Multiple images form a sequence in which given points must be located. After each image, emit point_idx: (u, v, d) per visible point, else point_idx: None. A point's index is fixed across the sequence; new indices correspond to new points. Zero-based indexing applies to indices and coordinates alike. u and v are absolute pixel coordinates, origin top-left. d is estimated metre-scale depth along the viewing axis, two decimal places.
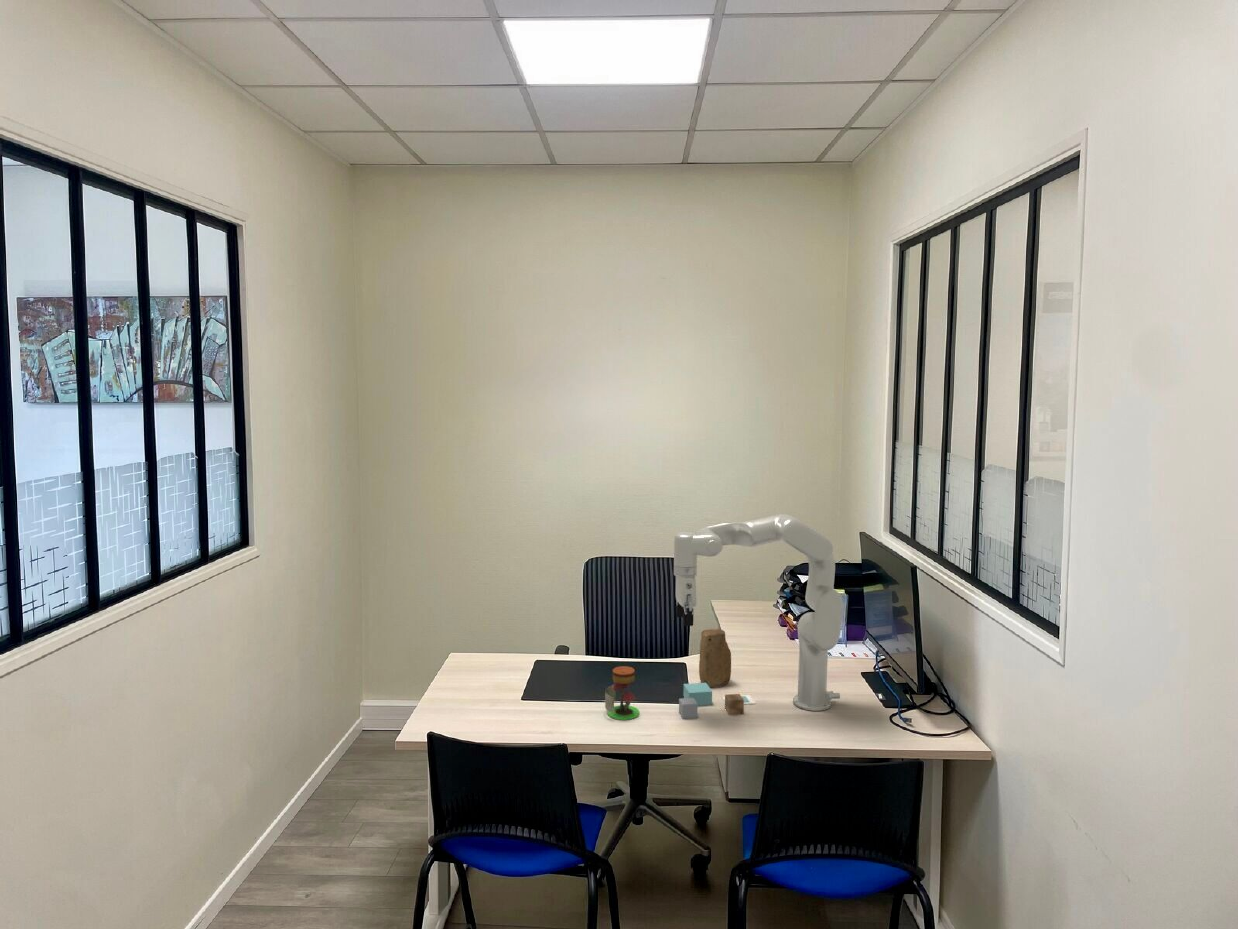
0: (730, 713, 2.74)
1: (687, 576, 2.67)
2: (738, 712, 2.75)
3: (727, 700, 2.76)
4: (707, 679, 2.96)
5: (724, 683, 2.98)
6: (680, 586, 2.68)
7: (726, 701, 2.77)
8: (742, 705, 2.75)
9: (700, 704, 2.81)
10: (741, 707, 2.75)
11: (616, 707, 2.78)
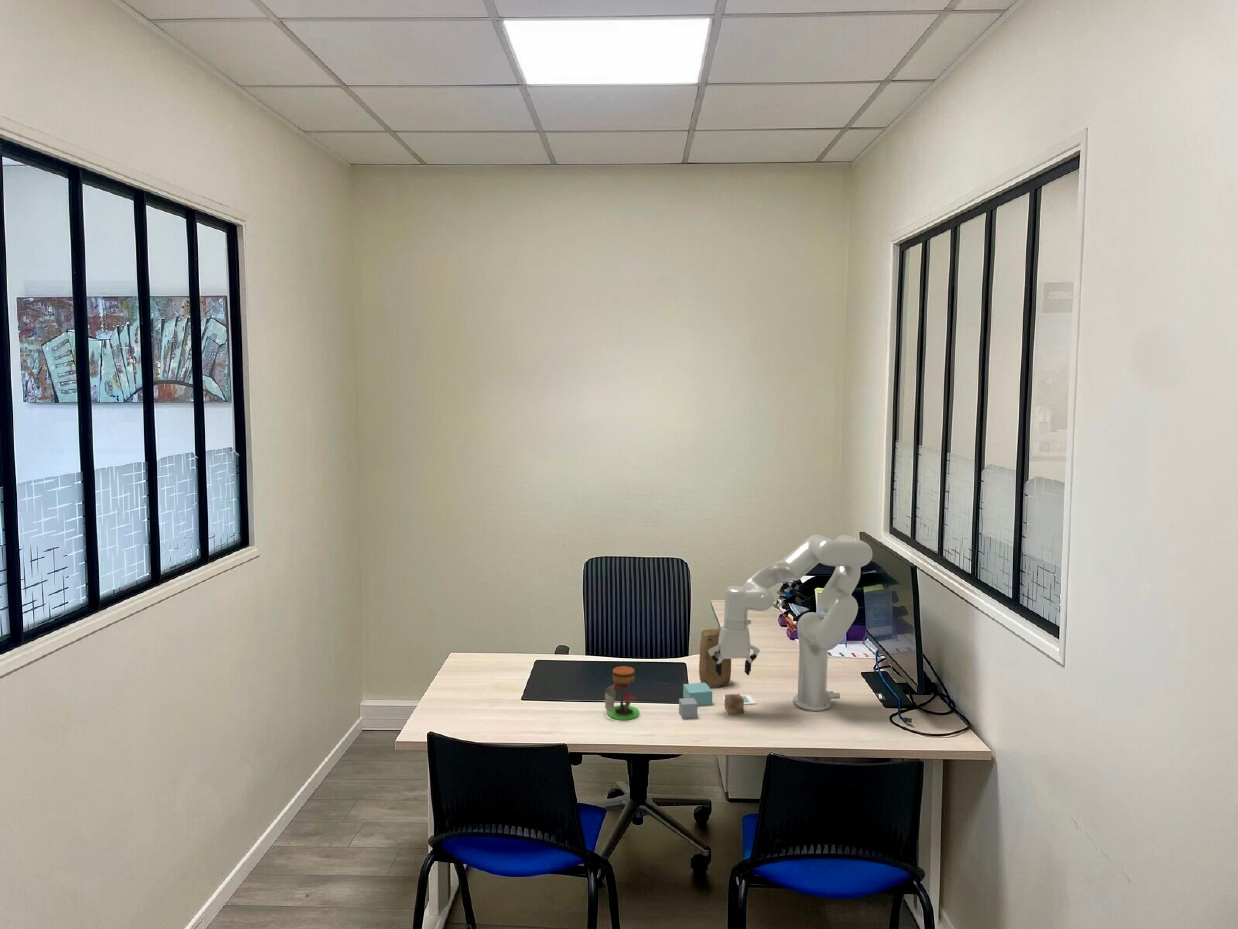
0: (730, 713, 2.74)
1: None
2: (738, 712, 2.75)
3: (727, 700, 2.76)
4: (707, 679, 2.96)
5: (724, 683, 2.98)
6: (745, 639, 2.72)
7: (726, 701, 2.77)
8: (742, 705, 2.75)
9: (700, 704, 2.81)
10: (741, 707, 2.75)
11: (616, 707, 2.78)
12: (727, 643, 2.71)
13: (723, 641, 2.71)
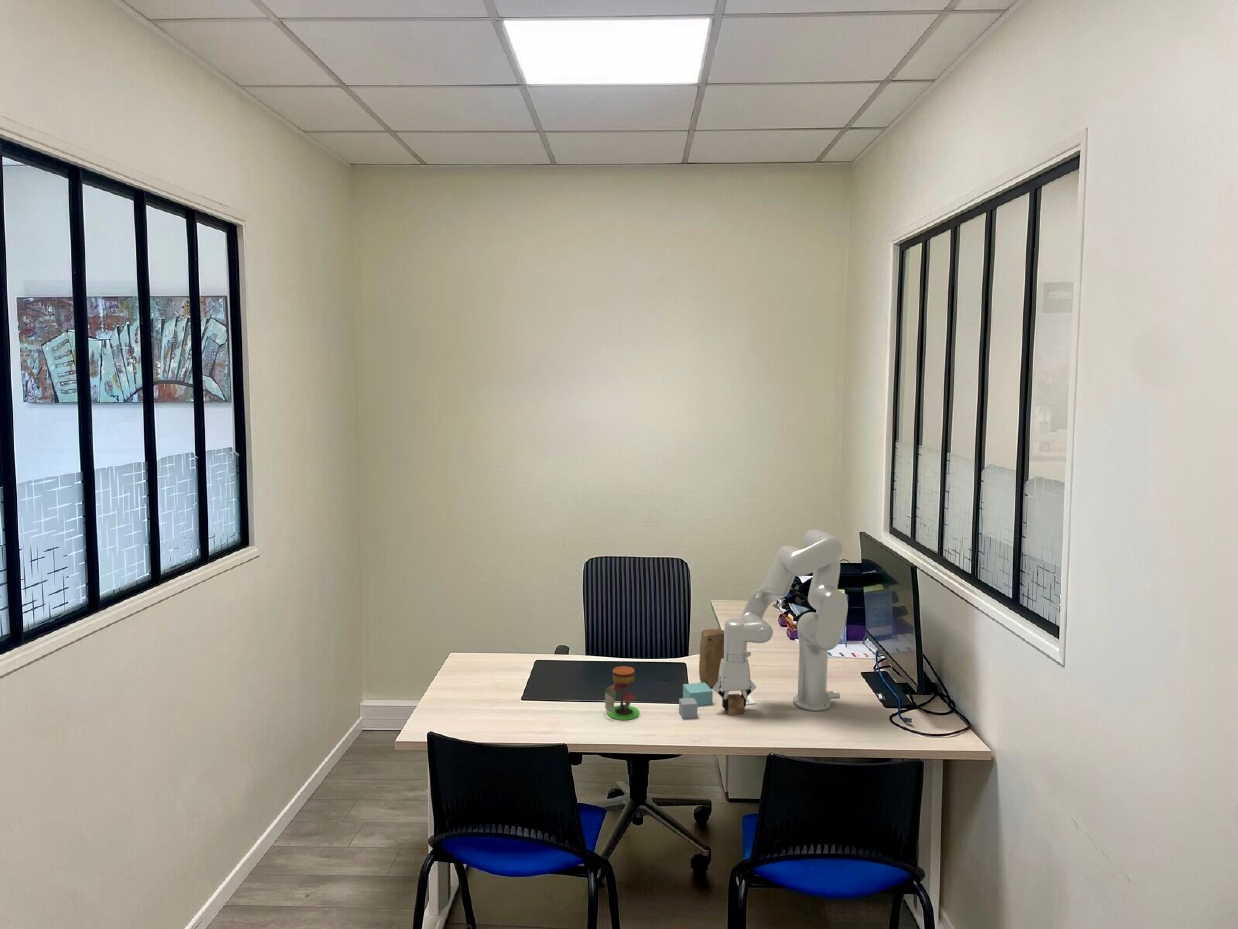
0: (730, 713, 2.74)
1: None
2: (738, 712, 2.75)
3: None
4: (707, 679, 2.96)
5: None
6: (745, 671, 2.73)
7: None
8: (742, 705, 2.75)
9: (701, 704, 2.81)
10: (740, 707, 2.75)
11: (616, 707, 2.78)
12: (727, 676, 2.73)
13: (723, 674, 2.73)
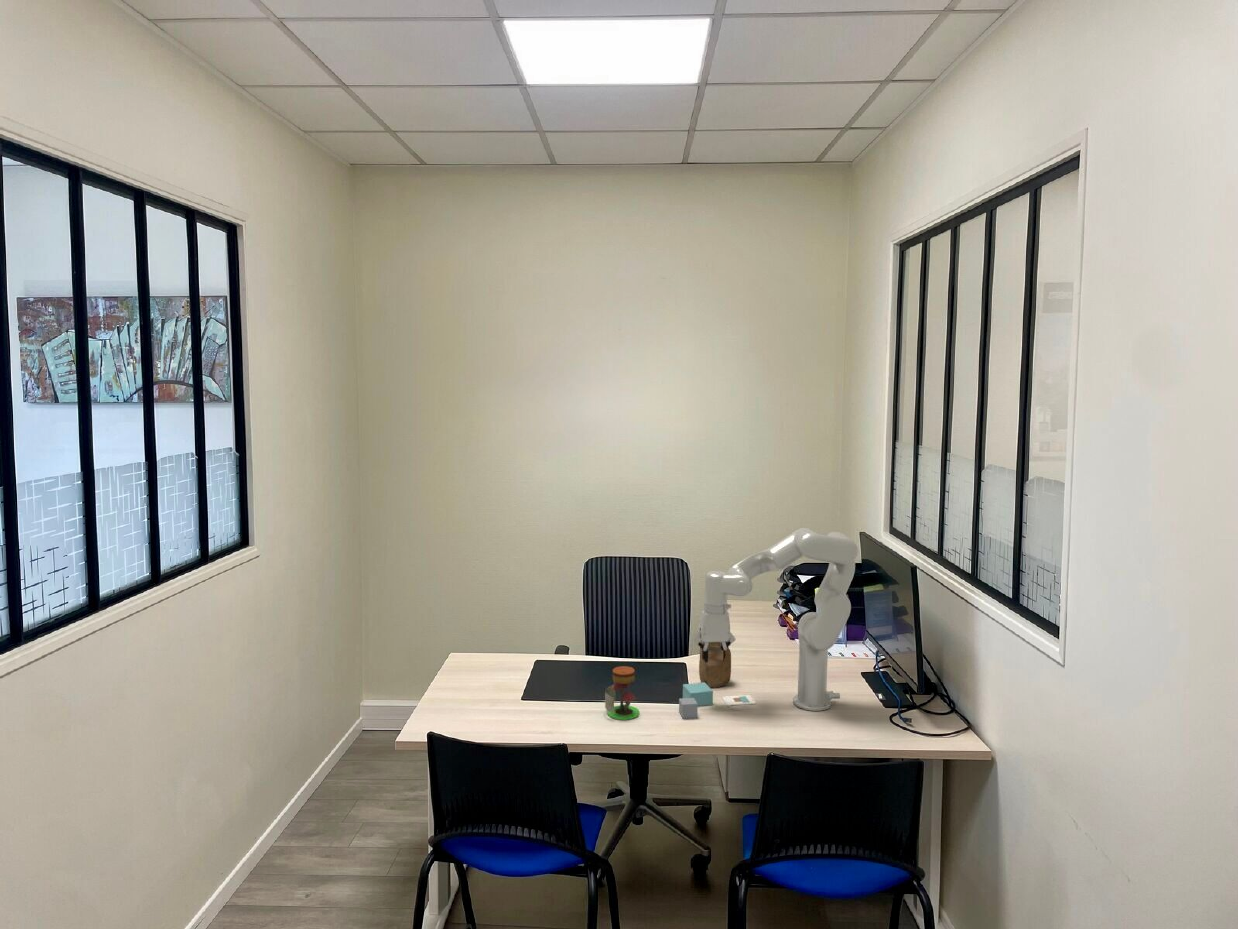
0: (710, 664, 2.77)
1: None
2: (717, 663, 2.77)
3: None
4: (707, 679, 2.96)
5: (724, 683, 2.98)
6: (725, 623, 2.76)
7: None
8: (721, 656, 2.77)
9: (701, 704, 2.81)
10: (720, 658, 2.77)
11: (616, 707, 2.78)
12: (707, 627, 2.75)
13: (703, 625, 2.75)
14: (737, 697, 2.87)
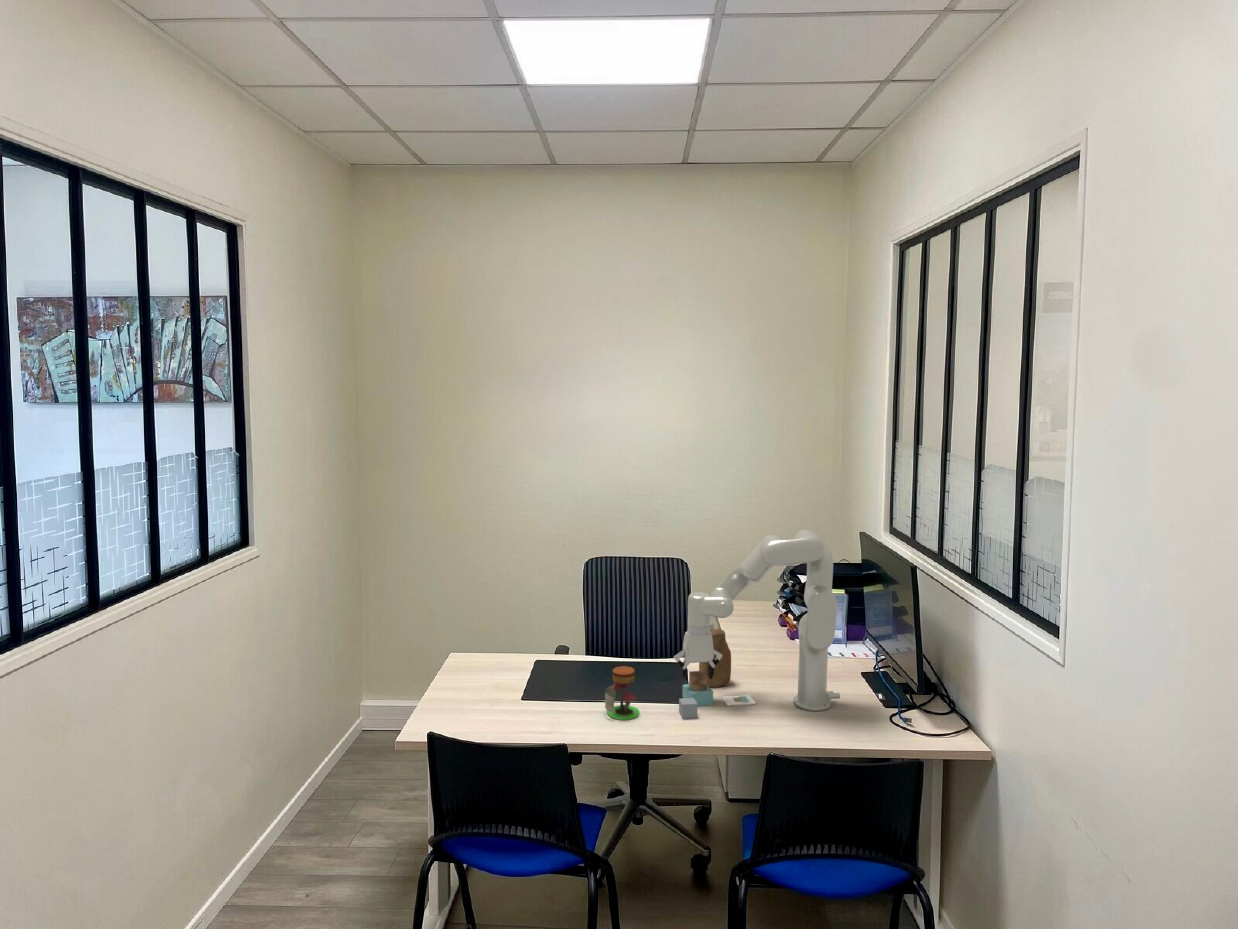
0: (694, 689, 2.82)
1: None
2: (701, 688, 2.82)
3: (691, 676, 2.83)
4: (707, 679, 2.96)
5: (724, 683, 2.98)
6: (708, 643, 2.81)
7: (690, 678, 2.85)
8: (705, 681, 2.82)
9: (702, 704, 2.81)
10: (704, 683, 2.82)
11: (616, 707, 2.78)
12: (691, 648, 2.80)
13: (687, 646, 2.80)
14: (737, 697, 2.87)
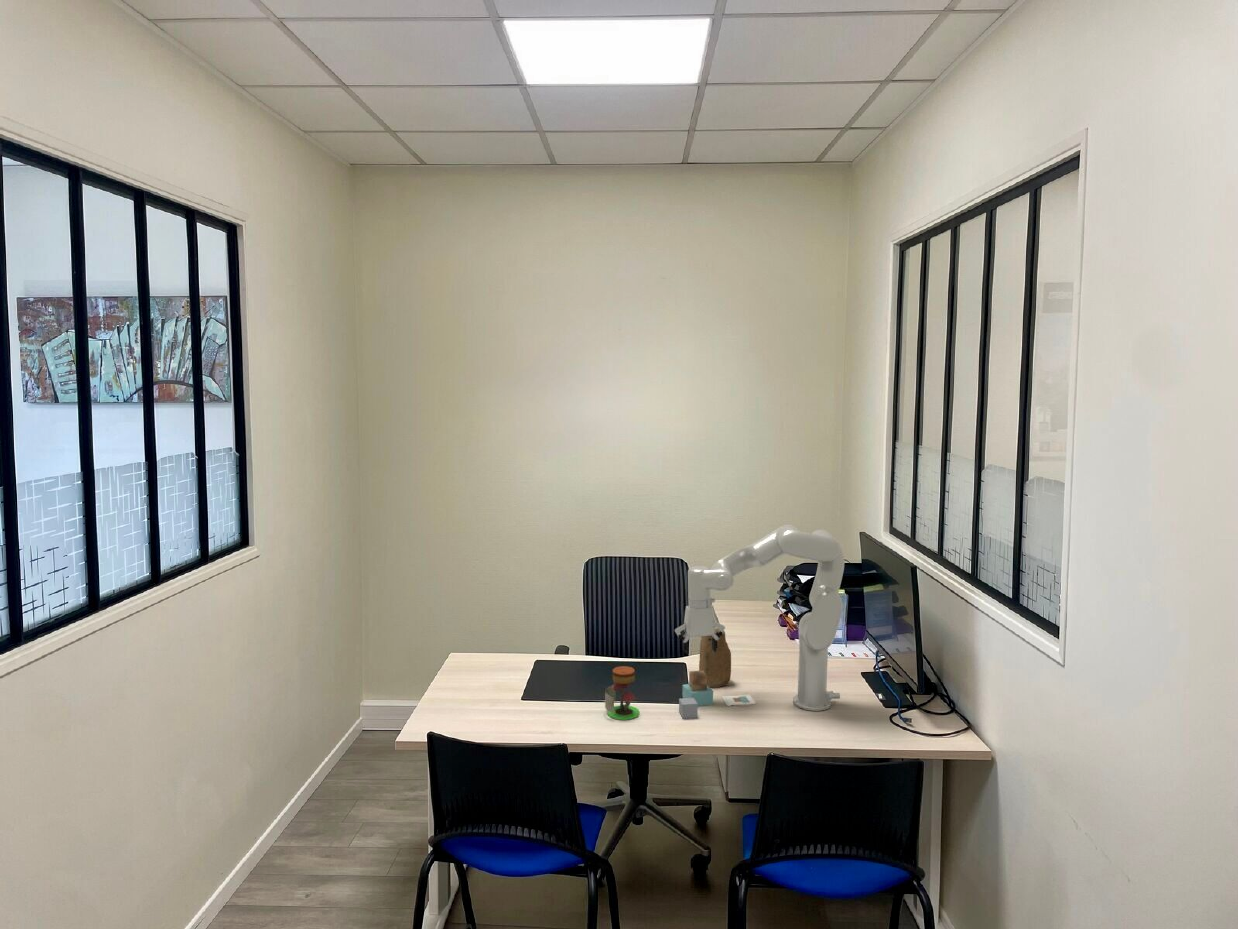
0: (694, 689, 2.82)
1: None
2: (702, 688, 2.82)
3: (691, 676, 2.83)
4: (707, 679, 2.96)
5: (724, 683, 2.98)
6: (709, 617, 2.80)
7: (690, 678, 2.85)
8: (705, 681, 2.82)
9: (702, 704, 2.81)
10: (704, 683, 2.82)
11: (616, 707, 2.78)
12: (692, 622, 2.79)
13: (688, 620, 2.79)
14: (737, 697, 2.87)
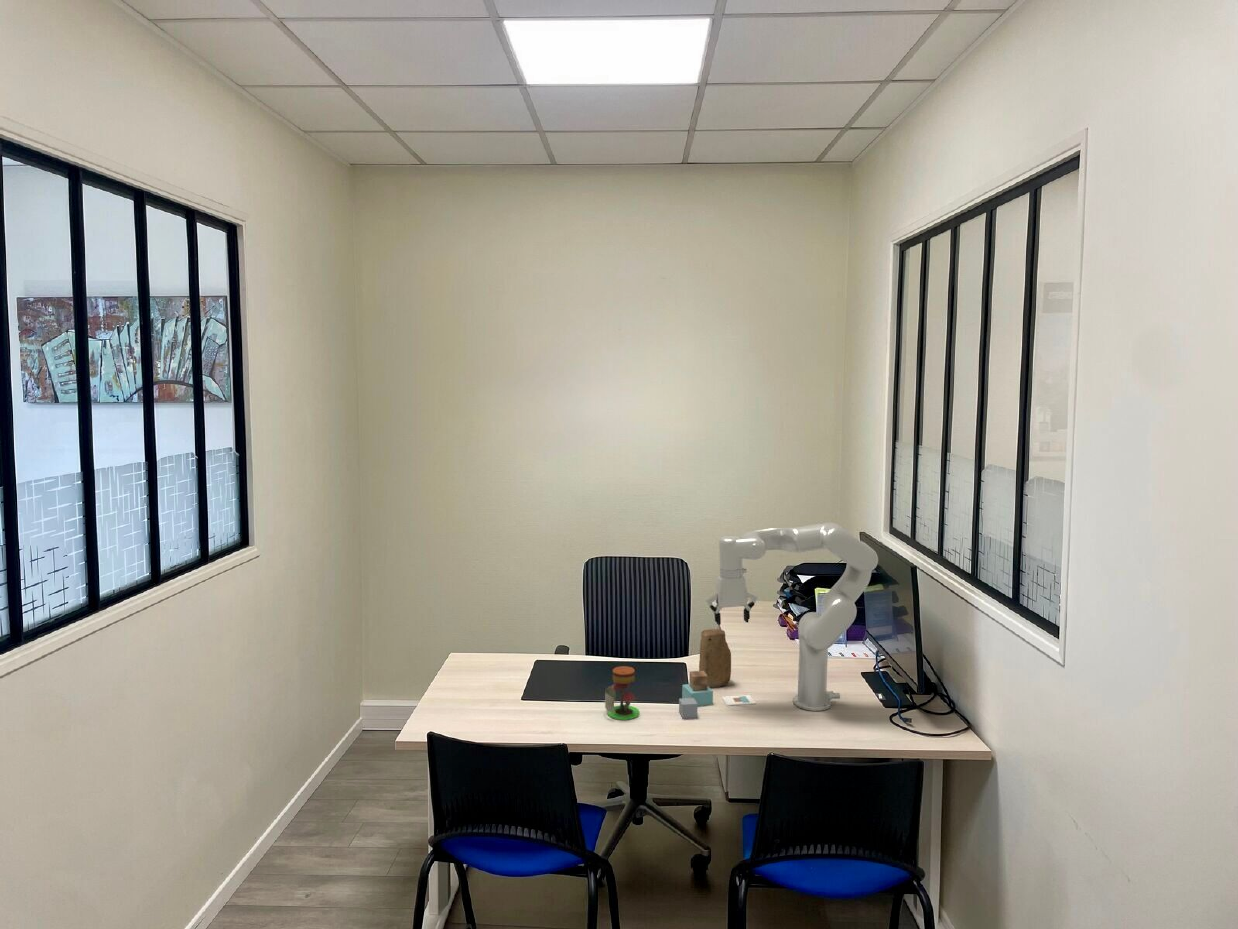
0: (694, 689, 2.82)
1: None
2: (702, 688, 2.82)
3: (691, 676, 2.83)
4: (707, 679, 2.96)
5: (724, 683, 2.98)
6: (741, 587, 2.77)
7: (690, 678, 2.85)
8: (706, 681, 2.82)
9: (701, 704, 2.81)
10: (704, 683, 2.82)
11: (616, 707, 2.78)
12: (724, 592, 2.76)
13: (720, 590, 2.76)
14: (737, 697, 2.87)
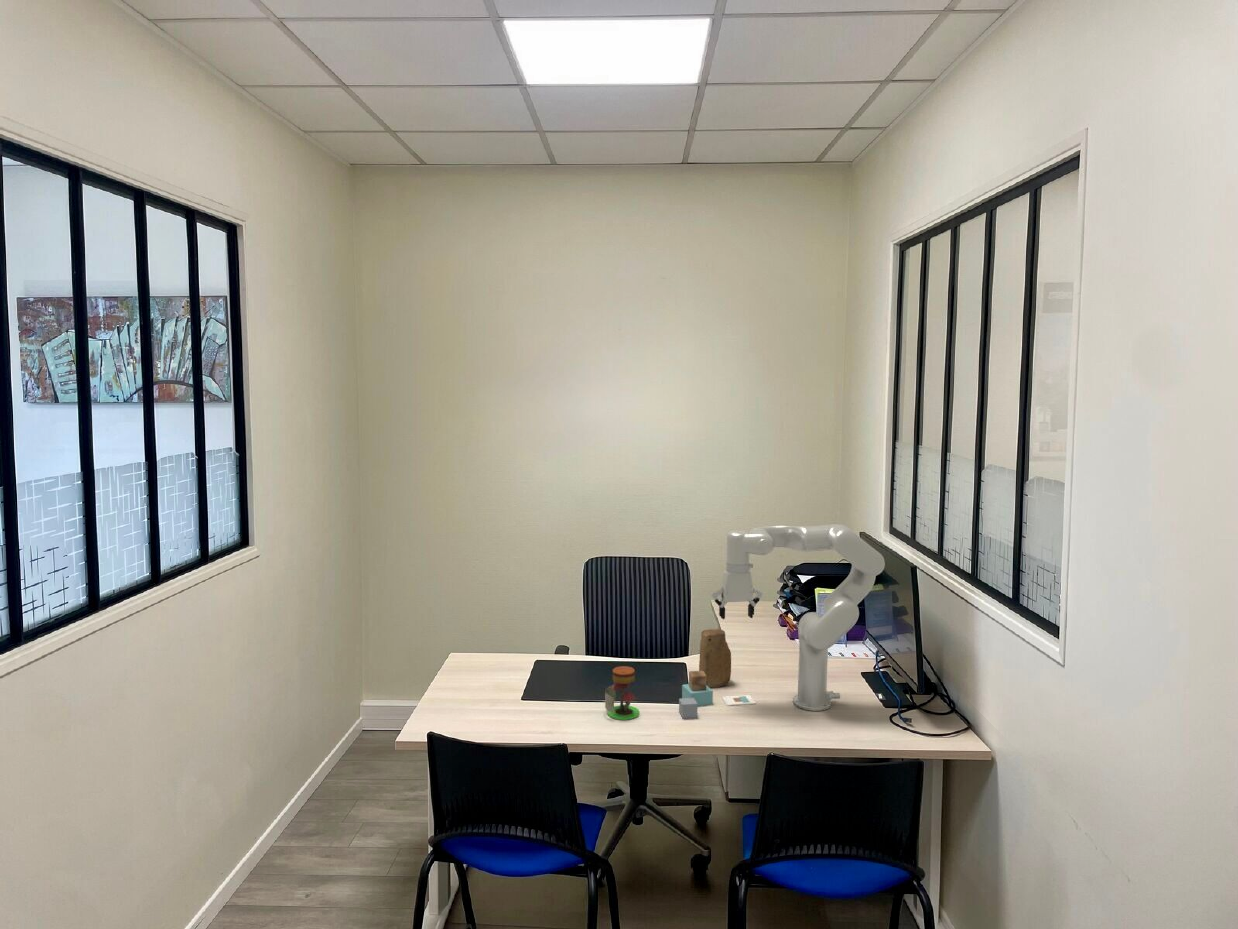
0: (693, 689, 2.82)
1: None
2: (701, 688, 2.82)
3: (690, 676, 2.83)
4: (707, 679, 2.96)
5: (724, 683, 2.98)
6: (747, 582, 2.76)
7: (689, 678, 2.85)
8: (705, 681, 2.82)
9: (701, 704, 2.81)
10: (703, 683, 2.82)
11: (616, 707, 2.78)
12: (730, 586, 2.76)
13: (726, 585, 2.76)
14: (737, 697, 2.87)
